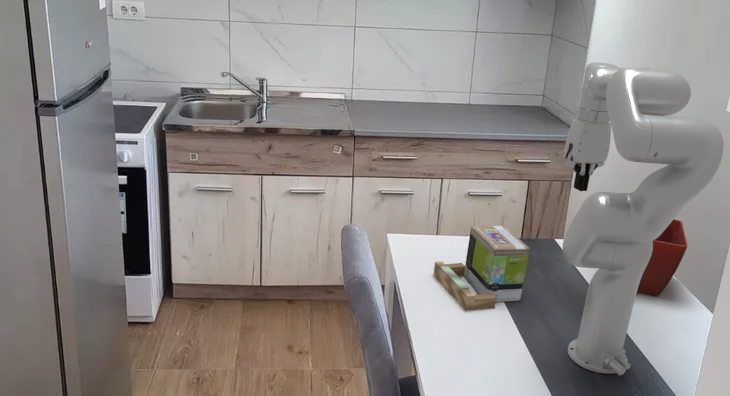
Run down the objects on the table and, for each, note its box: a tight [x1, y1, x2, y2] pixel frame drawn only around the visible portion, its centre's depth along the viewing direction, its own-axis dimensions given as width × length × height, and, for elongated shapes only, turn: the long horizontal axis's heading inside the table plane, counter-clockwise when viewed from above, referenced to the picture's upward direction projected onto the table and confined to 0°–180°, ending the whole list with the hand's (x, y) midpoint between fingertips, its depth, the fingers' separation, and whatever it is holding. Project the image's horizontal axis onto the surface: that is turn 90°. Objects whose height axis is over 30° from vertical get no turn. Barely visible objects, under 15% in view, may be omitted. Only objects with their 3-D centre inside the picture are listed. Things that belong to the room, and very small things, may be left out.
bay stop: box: [433, 260, 497, 312], centre depth 178 cm, size 19×8×4 cm, turn 19°
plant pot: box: [637, 218, 688, 297], centre depth 189 cm, size 19×19×17 cm
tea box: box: [463, 225, 531, 303], centre depth 179 cm, size 15×10×15 cm, turn 15°
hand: (580, 189), depth 172 cm, fingers closed
